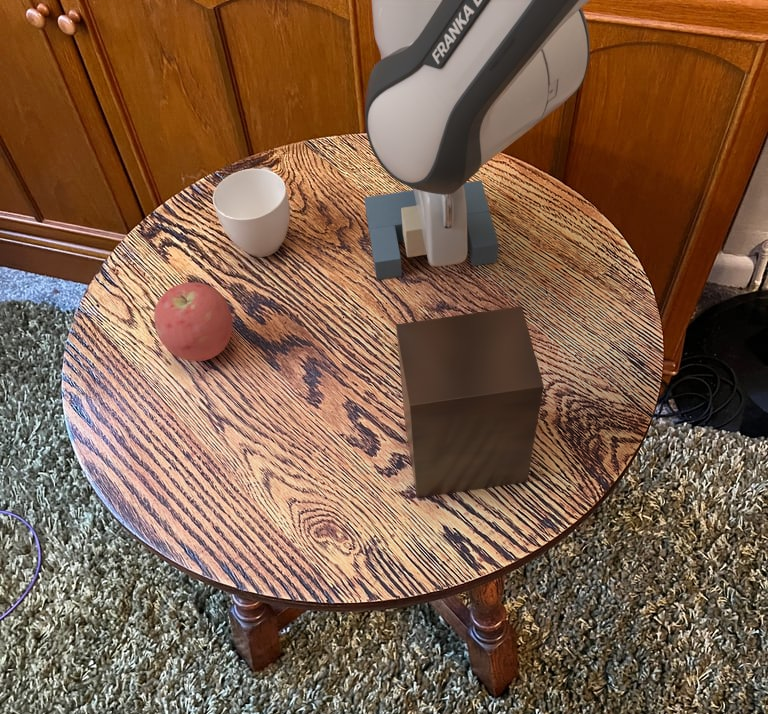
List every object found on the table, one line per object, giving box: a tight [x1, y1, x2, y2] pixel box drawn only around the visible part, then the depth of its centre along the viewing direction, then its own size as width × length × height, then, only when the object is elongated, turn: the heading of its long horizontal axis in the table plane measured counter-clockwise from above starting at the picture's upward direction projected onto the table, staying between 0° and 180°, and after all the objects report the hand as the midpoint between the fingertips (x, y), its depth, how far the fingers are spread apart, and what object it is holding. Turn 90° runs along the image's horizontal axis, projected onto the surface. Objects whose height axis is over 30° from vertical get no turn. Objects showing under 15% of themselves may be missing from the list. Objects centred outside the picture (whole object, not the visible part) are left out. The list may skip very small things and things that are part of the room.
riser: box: [395, 305, 545, 499], centre depth 65 cm, size 10×8×14 cm
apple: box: [153, 281, 234, 362], centre depth 76 cm, size 7×7×8 cm
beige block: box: [401, 206, 427, 258], centre depth 80 cm, size 6×4×4 cm, turn 97°
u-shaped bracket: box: [363, 179, 500, 281], centre depth 83 cm, size 13×10×2 cm
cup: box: [212, 166, 291, 258], centre depth 83 cm, size 8×10×7 cm
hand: (433, 234), depth 81 cm, fingers closed on beige block, 3 cm apart
